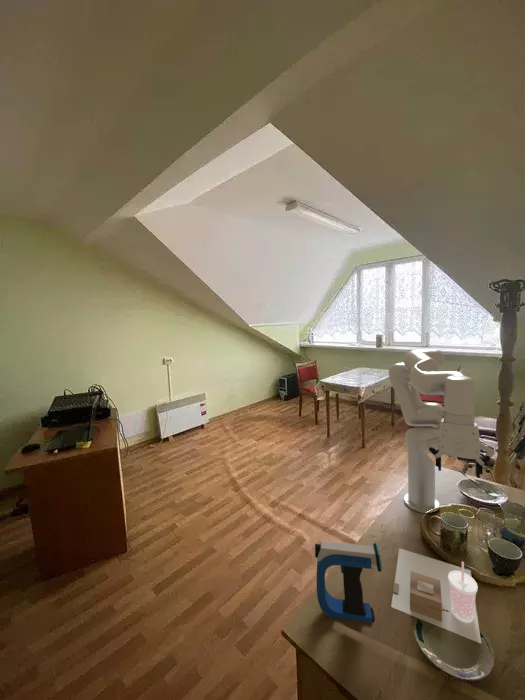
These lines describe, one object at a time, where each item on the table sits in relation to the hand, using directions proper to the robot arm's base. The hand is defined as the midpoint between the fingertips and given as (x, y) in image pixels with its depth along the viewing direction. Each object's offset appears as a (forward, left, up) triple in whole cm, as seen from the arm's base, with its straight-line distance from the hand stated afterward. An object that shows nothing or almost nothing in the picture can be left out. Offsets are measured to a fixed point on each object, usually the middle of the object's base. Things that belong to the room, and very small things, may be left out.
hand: (458, 472), depth 89 cm
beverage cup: (+21, 0, -27) cm, 34 cm away
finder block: (+22, -8, -27) cm, 36 cm away
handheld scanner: (+33, -25, -28) cm, 51 cm away
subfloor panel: (+16, -6, -28) cm, 33 cm away
